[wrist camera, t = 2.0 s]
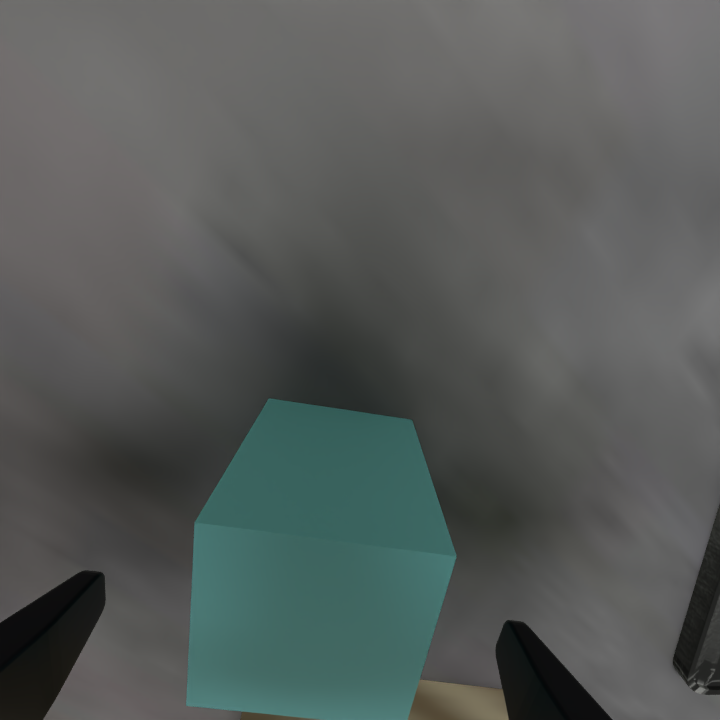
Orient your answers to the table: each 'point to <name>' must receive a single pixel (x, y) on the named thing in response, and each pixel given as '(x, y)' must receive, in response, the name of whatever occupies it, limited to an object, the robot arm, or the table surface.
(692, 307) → the table surface
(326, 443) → the teal cube
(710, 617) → the phone
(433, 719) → the oak box
